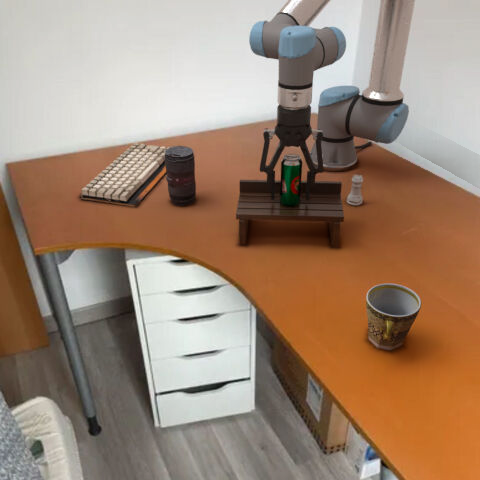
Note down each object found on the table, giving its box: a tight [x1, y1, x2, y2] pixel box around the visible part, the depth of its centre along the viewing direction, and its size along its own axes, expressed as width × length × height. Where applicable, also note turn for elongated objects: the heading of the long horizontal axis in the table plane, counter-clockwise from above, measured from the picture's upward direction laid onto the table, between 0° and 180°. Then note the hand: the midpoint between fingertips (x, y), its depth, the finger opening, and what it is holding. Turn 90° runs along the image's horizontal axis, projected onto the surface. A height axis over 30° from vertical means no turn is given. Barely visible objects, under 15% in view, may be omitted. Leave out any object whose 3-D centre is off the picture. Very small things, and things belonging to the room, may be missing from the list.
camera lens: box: [165, 145, 197, 207], centre depth 146 cm, size 8×8×15 cm
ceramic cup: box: [365, 283, 422, 351], centre depth 100 cm, size 13×10×10 cm
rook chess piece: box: [346, 174, 364, 207], centre depth 146 cm, size 4×4×8 cm
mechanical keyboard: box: [79, 142, 171, 208], centre depth 164 cm, size 38×19×3 cm, turn 164°
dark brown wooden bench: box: [235, 179, 345, 249], centre depth 133 cm, size 14×26×12 cm, turn 85°
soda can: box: [279, 153, 303, 207], centre depth 127 cm, size 5×5×12 cm
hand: (290, 197), depth 130 cm, fingers open, 8 cm apart
